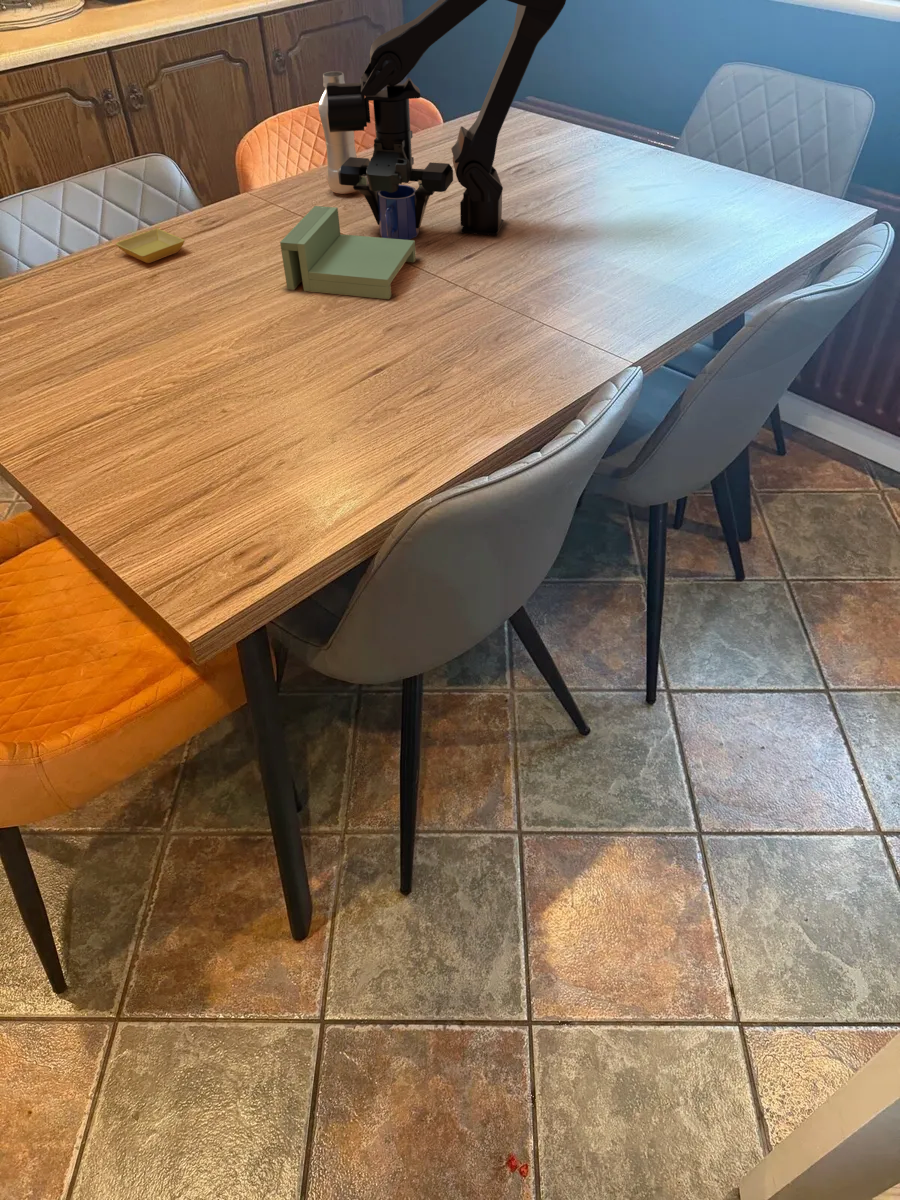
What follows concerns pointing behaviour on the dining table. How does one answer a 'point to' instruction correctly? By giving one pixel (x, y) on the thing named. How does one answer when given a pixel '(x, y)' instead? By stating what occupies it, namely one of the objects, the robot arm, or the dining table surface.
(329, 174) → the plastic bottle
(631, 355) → the dining table surface
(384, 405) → the dining table surface
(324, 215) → the shelf
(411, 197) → the mug
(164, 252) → the yellow shallow square dish
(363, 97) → the robot arm
